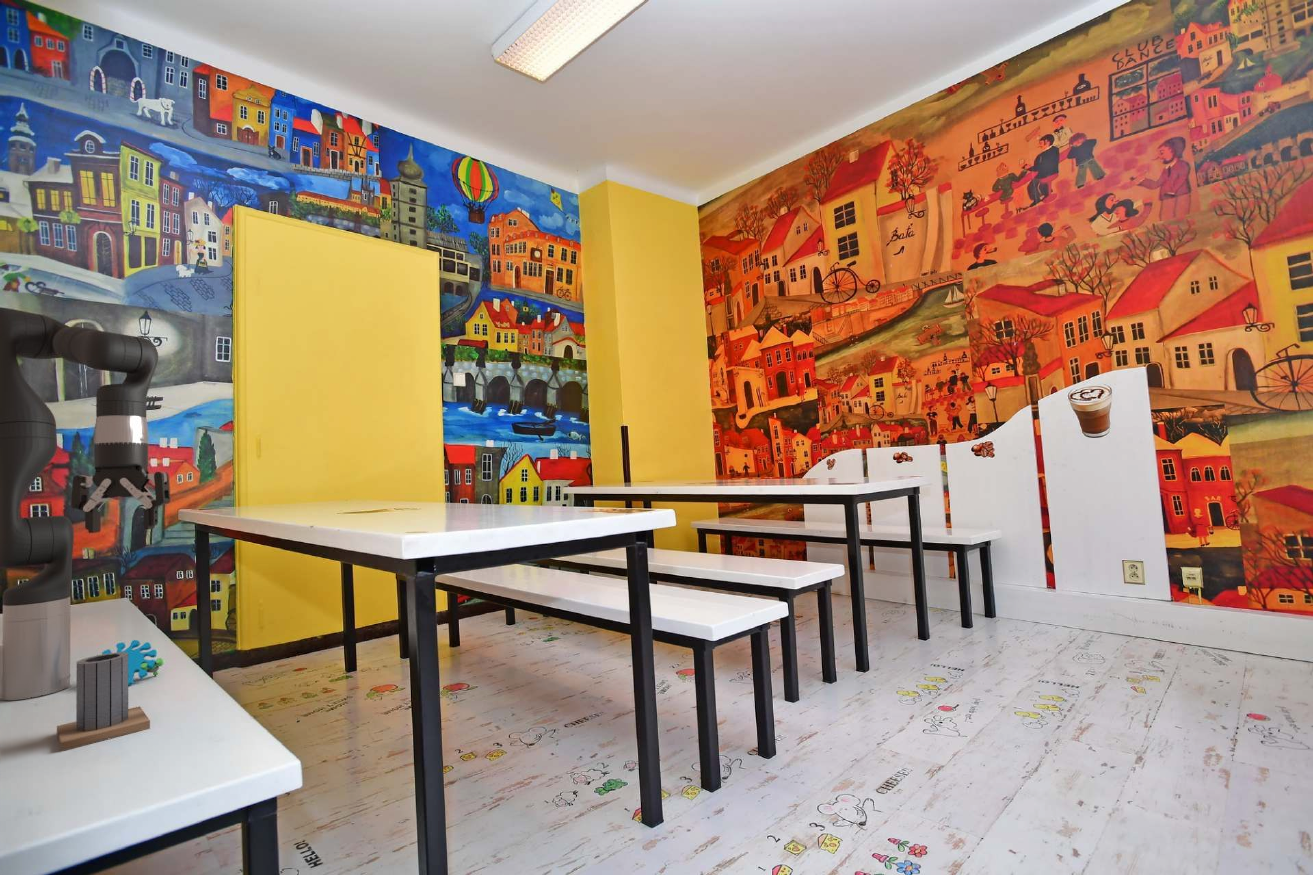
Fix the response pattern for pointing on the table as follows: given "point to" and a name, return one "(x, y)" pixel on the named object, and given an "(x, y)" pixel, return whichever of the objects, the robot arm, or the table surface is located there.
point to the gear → (139, 660)
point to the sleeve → (101, 691)
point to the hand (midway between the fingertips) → (122, 530)
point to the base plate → (101, 730)
